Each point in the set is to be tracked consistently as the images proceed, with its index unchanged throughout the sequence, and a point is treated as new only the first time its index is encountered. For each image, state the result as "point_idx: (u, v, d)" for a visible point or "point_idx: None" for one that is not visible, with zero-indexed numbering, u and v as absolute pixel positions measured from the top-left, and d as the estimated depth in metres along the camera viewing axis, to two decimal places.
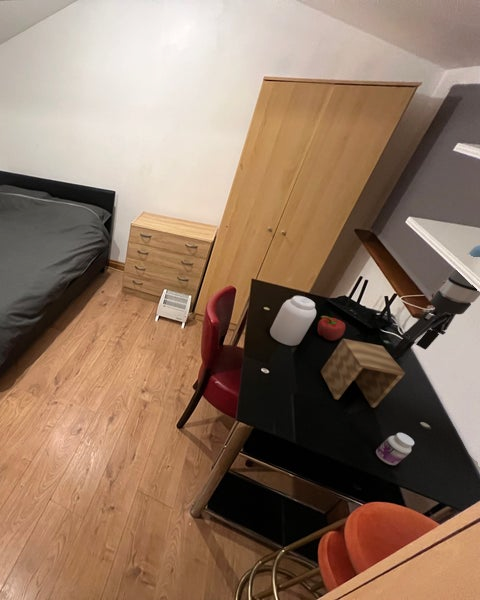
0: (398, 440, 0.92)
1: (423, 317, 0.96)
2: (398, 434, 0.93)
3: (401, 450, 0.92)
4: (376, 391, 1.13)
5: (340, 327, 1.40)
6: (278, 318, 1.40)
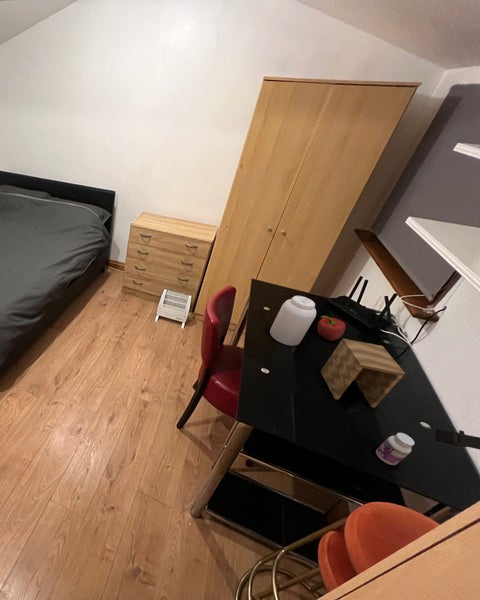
0: (398, 440, 0.92)
1: None
2: (398, 434, 0.93)
3: (401, 450, 0.92)
4: (376, 391, 1.13)
5: (340, 327, 1.40)
6: (278, 318, 1.40)
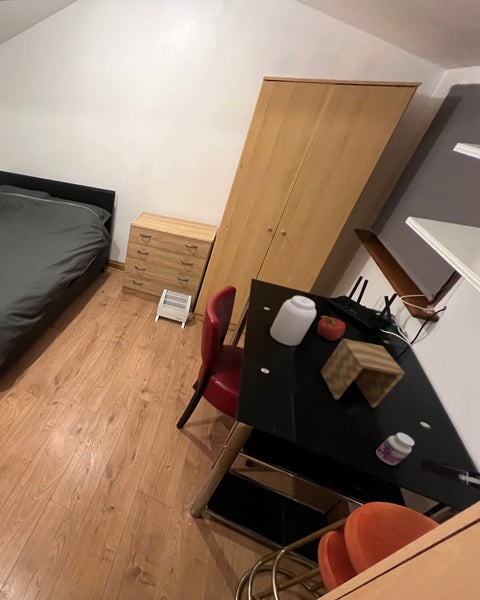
0: (398, 440, 0.92)
1: None
2: (398, 434, 0.93)
3: (401, 450, 0.92)
4: (376, 391, 1.13)
5: (340, 327, 1.40)
6: (278, 318, 1.40)
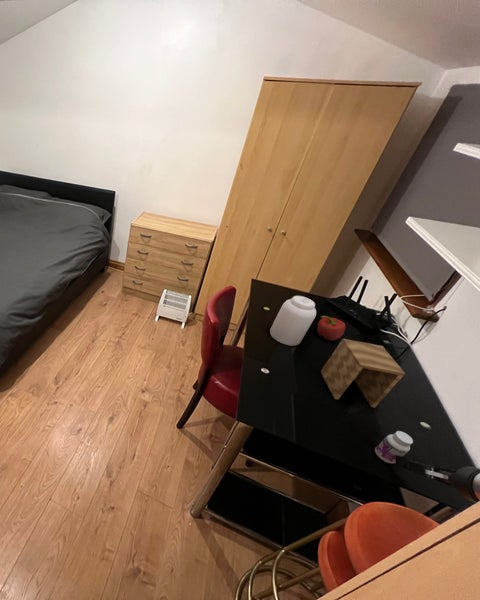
0: (397, 438, 0.93)
1: None
2: (397, 433, 0.94)
3: (400, 448, 0.92)
4: (376, 391, 1.13)
5: (340, 327, 1.40)
6: (278, 318, 1.40)
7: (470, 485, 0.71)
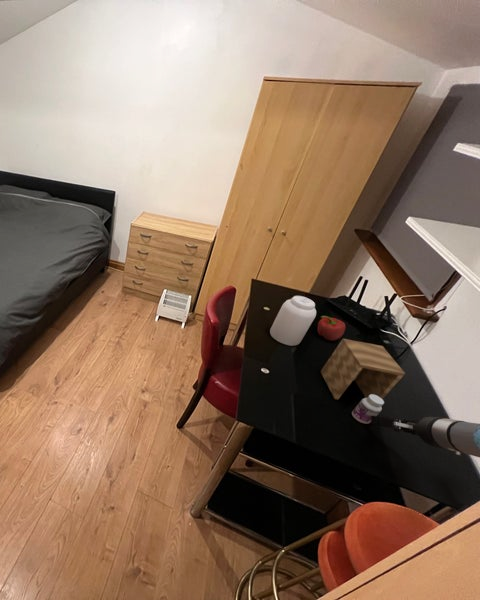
0: (371, 401, 1.04)
1: None
2: (370, 396, 1.05)
3: (374, 409, 1.04)
4: (376, 391, 1.13)
5: (340, 327, 1.40)
6: (278, 318, 1.40)
7: (429, 431, 0.82)
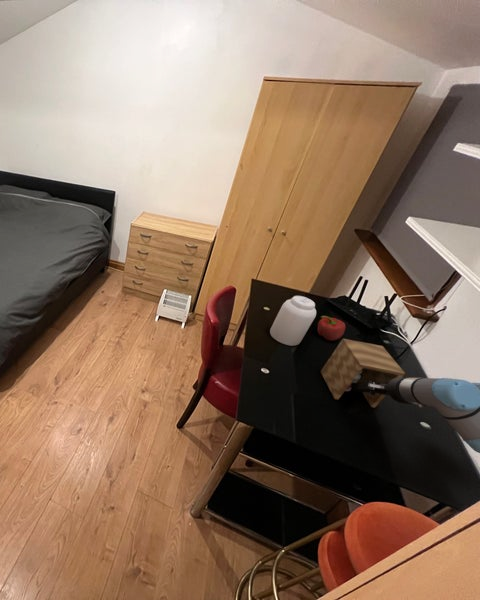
0: None
1: None
2: None
3: None
4: None
5: (340, 327, 1.40)
6: (278, 318, 1.40)
7: (397, 388, 0.94)
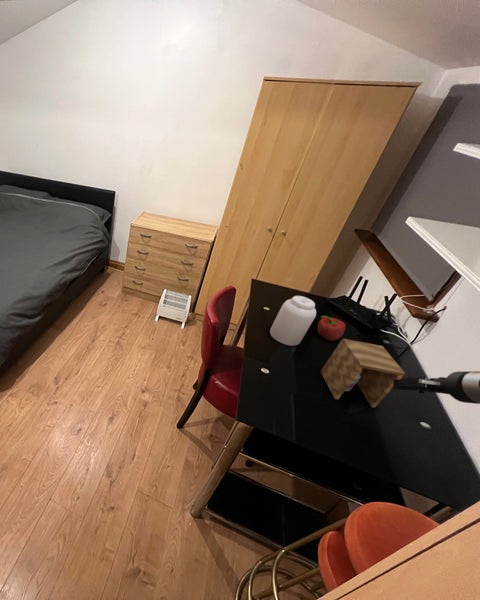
0: None
1: None
2: None
3: None
4: (376, 391, 1.13)
5: (340, 327, 1.40)
6: (278, 318, 1.40)
7: (459, 384, 0.77)
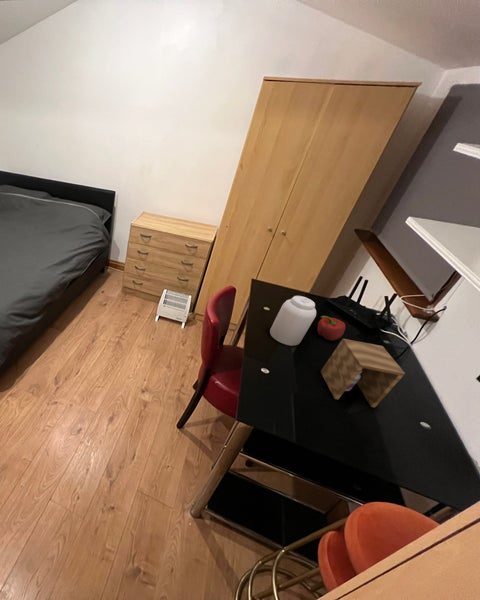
0: None
1: None
2: None
3: None
4: (376, 391, 1.13)
5: (340, 327, 1.40)
6: (278, 318, 1.40)
7: None
